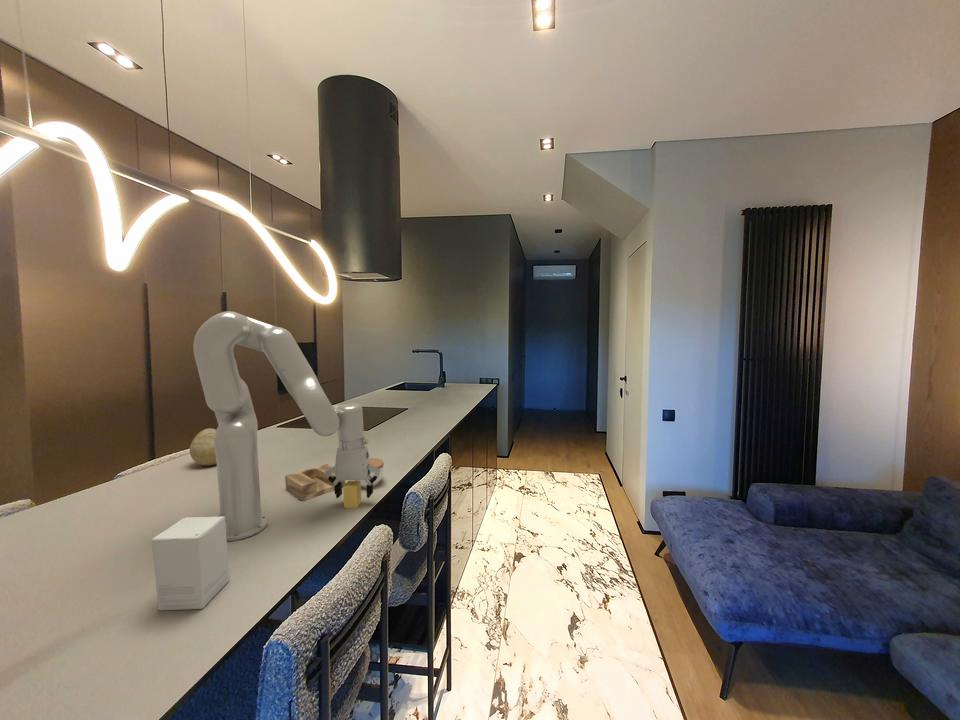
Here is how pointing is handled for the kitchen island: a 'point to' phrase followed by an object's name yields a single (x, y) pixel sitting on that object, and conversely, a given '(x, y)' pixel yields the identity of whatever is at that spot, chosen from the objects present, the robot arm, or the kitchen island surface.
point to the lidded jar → (378, 464)
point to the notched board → (310, 482)
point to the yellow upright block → (352, 494)
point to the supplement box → (190, 562)
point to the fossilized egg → (204, 448)
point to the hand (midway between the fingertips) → (354, 496)
